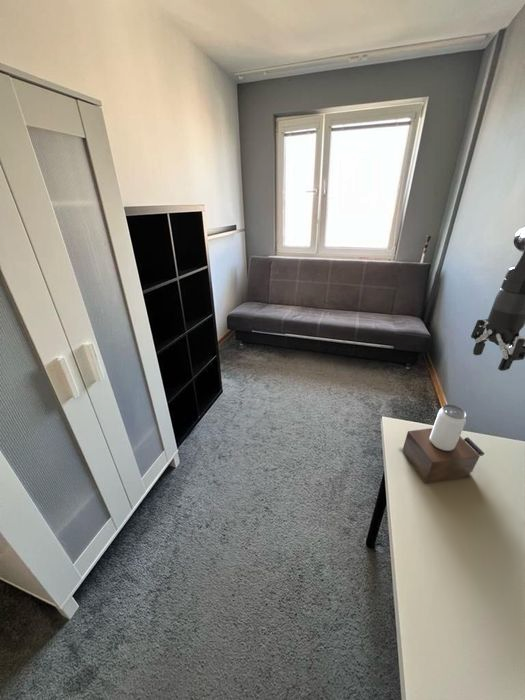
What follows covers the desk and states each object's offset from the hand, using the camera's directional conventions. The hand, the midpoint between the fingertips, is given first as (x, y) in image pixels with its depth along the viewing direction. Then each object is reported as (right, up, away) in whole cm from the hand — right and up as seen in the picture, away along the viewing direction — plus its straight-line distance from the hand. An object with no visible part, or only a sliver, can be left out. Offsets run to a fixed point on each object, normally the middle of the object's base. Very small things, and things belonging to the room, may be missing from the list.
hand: (489, 361), depth 79 cm
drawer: (-8, -30, +6) cm, 32 cm away
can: (-12, -24, +2) cm, 27 cm away
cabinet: (-12, -31, +6) cm, 34 cm away
